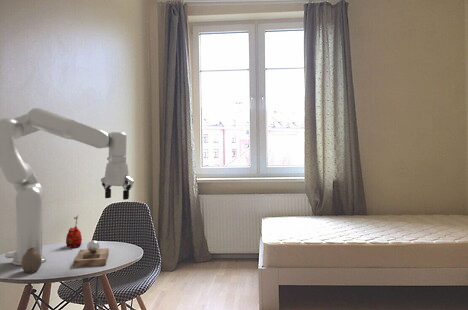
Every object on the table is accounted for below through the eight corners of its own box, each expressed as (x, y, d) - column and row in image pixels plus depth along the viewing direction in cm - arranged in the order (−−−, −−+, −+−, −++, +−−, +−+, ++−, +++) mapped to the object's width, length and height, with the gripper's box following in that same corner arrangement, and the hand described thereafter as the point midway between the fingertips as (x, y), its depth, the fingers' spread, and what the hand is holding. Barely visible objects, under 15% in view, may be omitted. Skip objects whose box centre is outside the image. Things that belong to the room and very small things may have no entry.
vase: (33, 274, 150) (33, 250, 150) (17, 273, 151) (17, 249, 151) (45, 269, 157) (45, 246, 157) (29, 267, 158) (29, 245, 158)
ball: (86, 253, 170) (86, 242, 170) (87, 250, 175) (87, 239, 175) (98, 253, 171) (98, 241, 171) (99, 250, 176) (99, 238, 176)
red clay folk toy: (62, 247, 192) (62, 215, 192) (74, 244, 198) (74, 213, 198) (74, 248, 188) (74, 216, 188) (85, 245, 195) (85, 214, 194)
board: (74, 267, 159) (74, 260, 159) (80, 255, 177) (80, 249, 177) (105, 265, 162) (105, 258, 162) (108, 253, 180) (108, 248, 180)
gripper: (96, 159, 178) (95, 198, 178) (128, 160, 172) (127, 200, 172) (107, 159, 185) (106, 196, 185) (138, 160, 179) (138, 199, 179)
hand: (116, 198), depth 179 cm, fingers open, 9 cm apart
